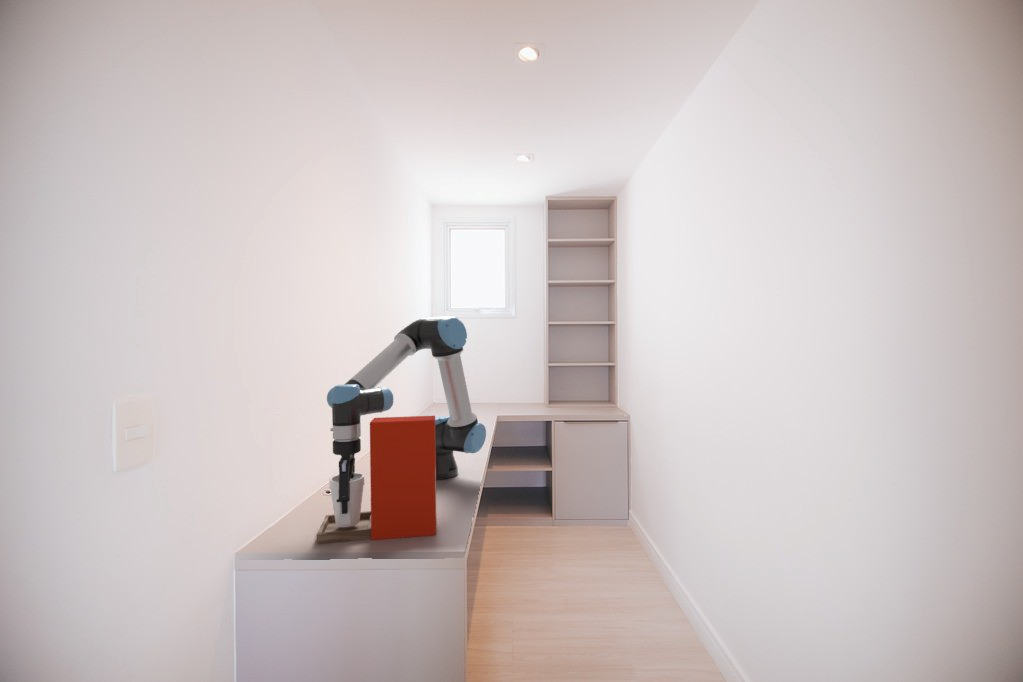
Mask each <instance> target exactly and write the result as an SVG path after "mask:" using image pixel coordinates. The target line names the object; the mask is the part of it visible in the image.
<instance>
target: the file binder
mask: <svg viewBox="0 0 1023 682" xmlns="http://www.w3.org/2000/svg"><path fill="white" fill-rule="evenodd" d="M435 418H436V415H421V416H419V415H415V416H414V415H413V416H391V417H389V416H388V417H387V416H385V417H374V418H373V419H372V420H371V421H370V422H369V453H370V454H369V458H370V460H369V461H370V462H369V464H370V465H369V467H370V473H369V474H370V511H371V538H370V539H371V541H375V540H376V541H377V540H388V539H389V540H391V539H392V540H393V539H402V538H405V539H406V538H417V537H428V536H433V537H434V536H436V535H437V524H438V523H437V520H438V519H437V479H436V443H435Z"/></svg>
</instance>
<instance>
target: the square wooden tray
mask: <svg viewBox="0 0 1023 682" xmlns="http://www.w3.org/2000/svg"><path fill="white" fill-rule="evenodd" d="M315 535H316V536H315V537H316V545H321V544H329V543H338V542H339V543H340V542H347V541H348V542H349V541H358V540H359V541H360V540H367V539H371V510H367V511H361V512H360V520H359V523H358V524H356V525H354V526H351V527H338V526H336V522H335V515H334V514H326V515H325V516H324V518H323V520H322V522H321V524H320V527H319V528H318V531H317V533H316V534H315Z"/></svg>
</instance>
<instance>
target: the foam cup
mask: <svg viewBox="0 0 1023 682" xmlns="http://www.w3.org/2000/svg"><path fill="white" fill-rule="evenodd" d="M364 485H365V473H362V472H355V473H353V478H351V479H350V505H351V524H348V525H340V502H337V499H339V474H336V475H333V476H331V477H330V478H329V489H330V494H331V500H332V501H331V502H332V507H333V515H335V522H336V526H338V527H351V526H354V525H356V524H358V523H359V520H360V512H362V503H363V493H364ZM342 497H346V496H342Z"/></svg>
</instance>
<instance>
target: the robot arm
mask: <svg viewBox="0 0 1023 682" xmlns="http://www.w3.org/2000/svg"><path fill="white" fill-rule="evenodd" d="M467 339H468V331H467V329H466V327H465V324H464V323H463V322H462V320H460V319H459V318H458V317H455V316H436V317H434V316H433V317H423V318H419V319H417V320H415V321H412V323H409V324H408V325H407V326H406V327H403V329H401V330H400V331H399V332H398V333H397V334H395V336H394V338H393V341H392V342H391V343H389V345H387V346H386V347H385V348H384V349H383V350H382V351H381V352H379V353H378V354H377V355H376V356H375V357H374V358H372V359H371V361H369V362H368V363H366V365H364V367H363V368H361V369H360V370H359V371H358V372H357V373H356V374H354V375H353V376H352V377H351V378H350V379H349V380H348V381H347V382H345V383H344V384H337V385H335V386H333V387H332V388H331V389H329V391H328V392H327V395H326V402H327V404H328V406H329V407H330V408H331V417H332V427H331V428H330V432H332V440H333V441H332V453H333V455H336V456H341V457H340V458H339V461H338V475H339V499H337V502H340V525H348V524H351V505H350V479H351V478H353V473H356V469H355V467H356V466H355V465H356V464H355V463H356V458H355V455H356V454H358V453H360V452H361V449H362V445H361V443H362V441H361V439H360V437H361V436H362V434H361V433H362V430H361V429H362V427H361V416H367V415H371V414H378V413H383V412H386V411H389V410H390V409H391V408H392V407H393V404H394V394H393V392H392V391H391V389H389V388H388V387H379V386H378V385H379V384H381V382H382V381H383V380H385V379H386V378H387V376H388V375H390V374H392V372H393V371H394V370H395V369H396V368H397V367H399V365H401V363H403V361H405V360H406V358H408V357H409V356H414V355H415V354H416V353H417V352H419V351H421V350H426V349H429V350H431V352H430V353H431V355H432V356H431V357H432V358H434V359H436V360H437V363H438V367H439V372H440V377H441V380H442V381H441V383H442V386H443V390H444V395H445V400H446V405H447V410H448V414H449V415H446V416H445V415H444V416H435V443H436V480H445V479H450V478H453V477H456V476H457V475H458V473H459V470H458V469H459V468H458V465H457V462H456V459H455V456H454V452H459V453H465V454H476V453H478V452H480V450H482V448H483V446H484V444H485V441H486V437H487V430H486V426H485V425H484V424H483V423H481V422H478V415H476V413H474V412H473V411H472V405H471V401H470V397H469V392H468V388H467V387H468V385H467V381H466V377H465V372H464V368H463V363H462V356H461V354H462V352H463V351H464V346H465V345H466V343H467ZM377 386H378V387H377ZM342 496H346V497H342Z"/></svg>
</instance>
